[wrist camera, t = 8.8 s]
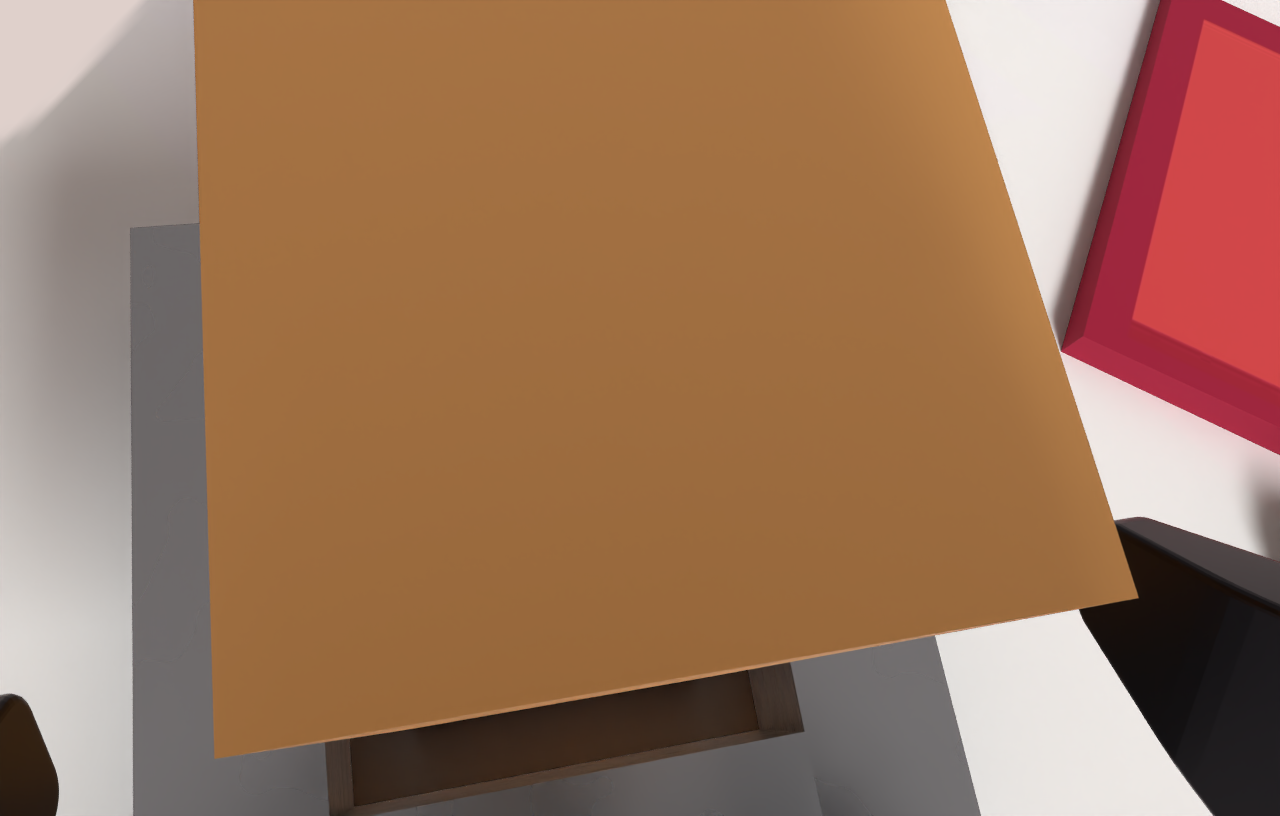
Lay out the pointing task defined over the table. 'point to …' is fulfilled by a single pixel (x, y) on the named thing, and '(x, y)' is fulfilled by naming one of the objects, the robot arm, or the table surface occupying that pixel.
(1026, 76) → the table surface
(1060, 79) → the table surface
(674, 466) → the tall tan rectangular block
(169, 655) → the gray square socket plate
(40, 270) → the table surface
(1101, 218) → the red board with handle
